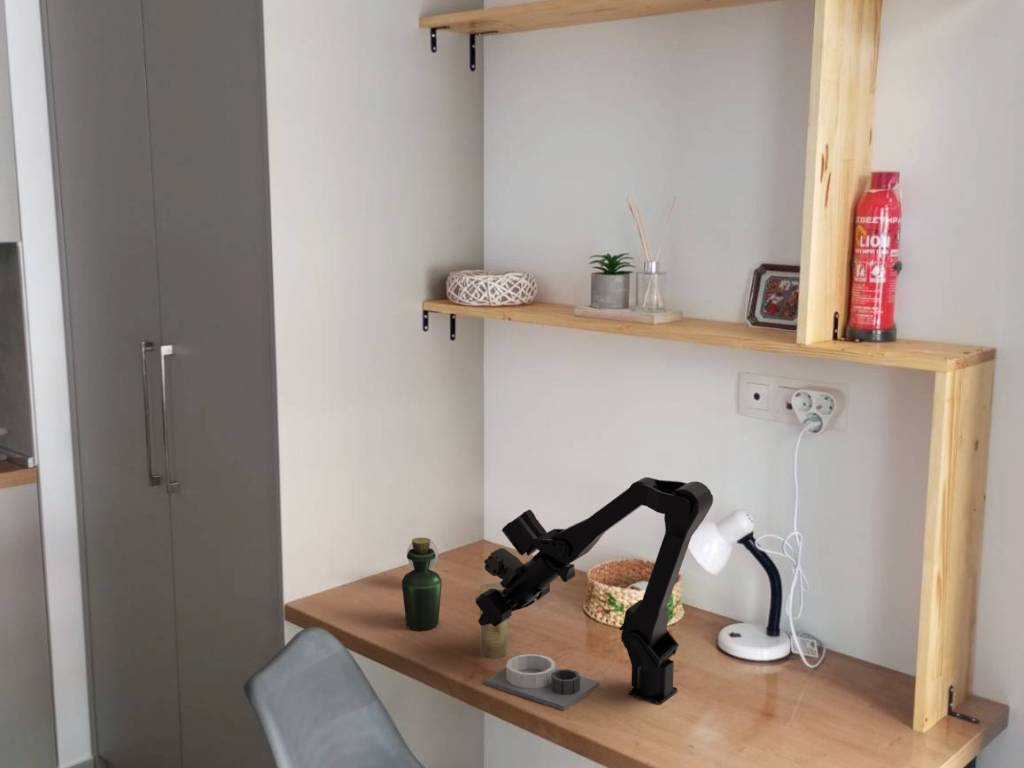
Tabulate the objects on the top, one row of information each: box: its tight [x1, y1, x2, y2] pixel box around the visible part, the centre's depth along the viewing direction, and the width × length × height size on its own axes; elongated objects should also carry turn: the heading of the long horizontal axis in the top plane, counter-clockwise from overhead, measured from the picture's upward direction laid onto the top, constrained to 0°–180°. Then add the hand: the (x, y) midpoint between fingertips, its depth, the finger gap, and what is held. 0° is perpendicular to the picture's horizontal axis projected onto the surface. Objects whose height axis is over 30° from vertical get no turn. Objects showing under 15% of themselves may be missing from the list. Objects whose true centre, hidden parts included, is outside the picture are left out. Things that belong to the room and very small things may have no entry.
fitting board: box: [484, 653, 601, 712], centre depth 193 cm, size 17×12×3 cm
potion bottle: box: [401, 536, 443, 632], centre depth 219 cm, size 8×8×18 cm
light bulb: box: [406, 540, 439, 571], centre depth 239 cm, size 7×7×12 cm
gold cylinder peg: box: [479, 582, 509, 659], centre depth 206 cm, size 5×5×13 cm
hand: (487, 618), depth 207 cm, fingers closed on gold cylinder peg, 5 cm apart
